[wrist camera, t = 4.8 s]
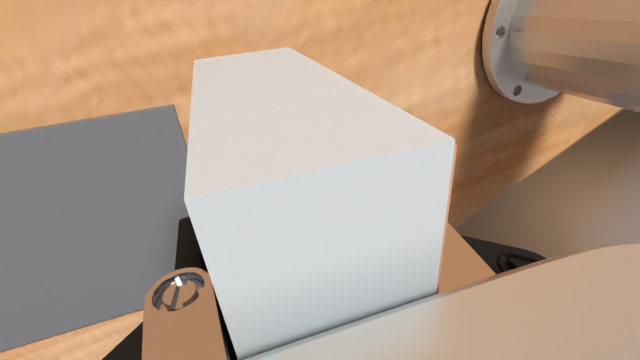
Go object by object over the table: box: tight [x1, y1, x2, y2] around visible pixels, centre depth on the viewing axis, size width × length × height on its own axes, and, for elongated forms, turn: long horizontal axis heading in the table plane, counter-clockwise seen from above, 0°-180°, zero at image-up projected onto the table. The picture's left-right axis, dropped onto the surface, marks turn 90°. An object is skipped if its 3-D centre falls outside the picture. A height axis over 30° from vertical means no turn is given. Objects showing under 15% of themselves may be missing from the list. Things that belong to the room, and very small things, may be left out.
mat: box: [0, 105, 190, 352], centre depth 22 cm, size 18×15×1 cm
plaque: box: [184, 47, 457, 360], centre depth 9 cm, size 3×9×8 cm, turn 6°
